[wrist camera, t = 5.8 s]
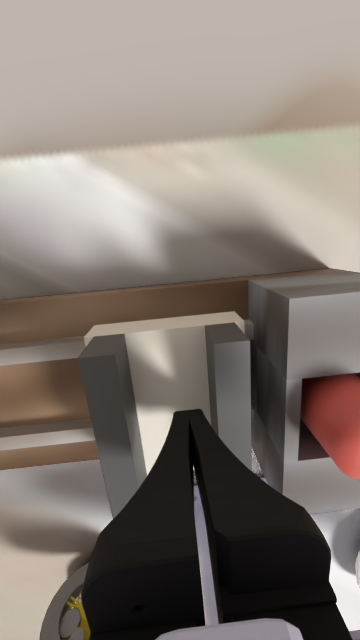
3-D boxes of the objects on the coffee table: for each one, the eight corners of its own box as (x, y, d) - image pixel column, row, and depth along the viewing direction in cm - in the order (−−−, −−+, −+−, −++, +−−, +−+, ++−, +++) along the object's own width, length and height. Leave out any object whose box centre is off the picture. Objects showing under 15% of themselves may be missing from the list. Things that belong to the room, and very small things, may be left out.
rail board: (318, 419, 21) (391, 504, 14) (-11, 456, 20) (-99, 562, 13) (330, 268, 17) (434, 284, 11) (-67, 306, 17) (-224, 349, 10)
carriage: (238, 440, 17) (261, 504, 13) (119, 453, 17) (103, 523, 13) (234, 311, 15) (262, 339, 11) (94, 325, 15) (64, 359, 10)
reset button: (349, 415, 15) (413, 475, 11) (288, 422, 15) (330, 484, 11) (356, 358, 14) (429, 402, 10) (290, 365, 14) (338, 412, 10)
